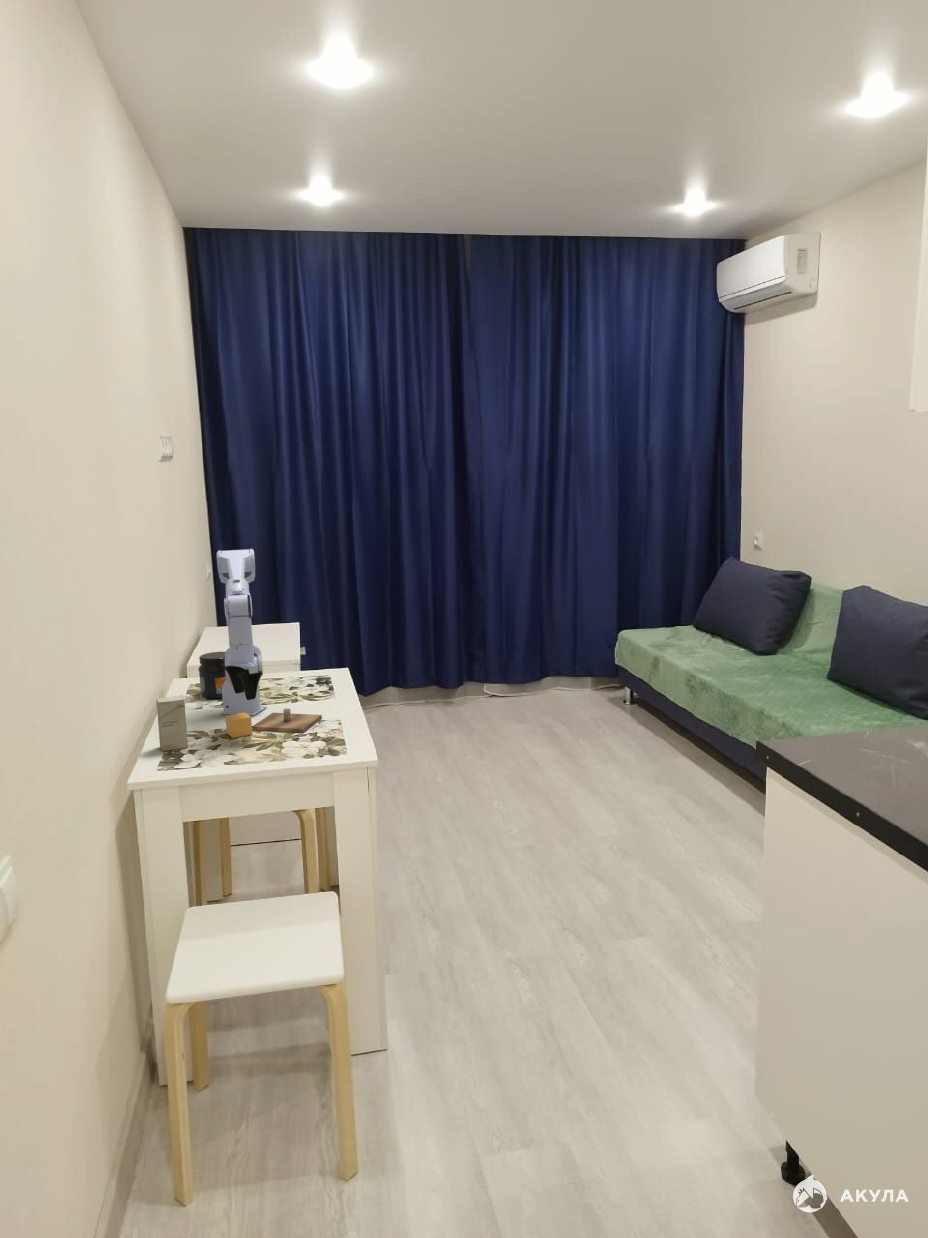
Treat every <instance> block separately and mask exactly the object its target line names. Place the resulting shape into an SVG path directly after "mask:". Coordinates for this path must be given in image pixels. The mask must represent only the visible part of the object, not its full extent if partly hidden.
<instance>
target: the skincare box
mask: <svg viewBox="0 0 928 1238" xmlns="http://www.w3.org/2000/svg"><path fill="white" fill-rule="evenodd" d="M155 700H156V711H157V724H158V725H157V726H158V736H159V737H158V739H159V740H158V741H159V747H160V750H161V751H162V752H166V751H174V750H180V749H182V750H183V749H187V748H188V747H189V744H188V733H187V719H186V718H187V717H186V706H185V705H186V702H185V697H184V696H183V694H181V695H174V696H165V697H158V698H156V699H155Z"/></svg>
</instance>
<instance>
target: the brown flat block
mask: <svg viewBox="0 0 928 1238" xmlns="http://www.w3.org/2000/svg"><path fill="white" fill-rule="evenodd" d="M322 719H323V715H322V714H311V713H310V714H307V713H306V714H305V713H291V708H283V711H282V712H271V713H269V714H268V715H267V716H266V717H264V718H262V719H261V720H260V721H258V722H257V723H255V724H253V725H252V731H257V732H258V731H260V732H262V731H263V732H275V733H276V732H280V733H299V734H304V733H305V732H307V731H308V730H309V729H310V728H312V727H313V726H315V725H316V724H317V723H318V722H320V721H321V720H322Z"/></svg>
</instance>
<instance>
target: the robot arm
mask: <svg viewBox="0 0 928 1238" xmlns="http://www.w3.org/2000/svg"><path fill="white" fill-rule="evenodd" d="M255 560H256V559H255V551H254V549H253V548H250V549H249V548H248V549H232V550H230V549H229V550H218V551H217V552H216V563H217V566H216V567H217V572H218V578H219V579H220V583H222V584H225V597H224V599H223V603H224V604H223V605H224V607H223V608H224V615H225V619H226V627H228V628H227V633H228V634H227V635H228V645H229V648H228V649H226V650H225V652H226V653H225V673H226V678H227V680H226V681H225V682H224V684H223V687H222V697H223V699H222V707H223V708H222V709H223V712H222V714H223V715H232V714H238V713H243V712H245V713H246V714H248V715H249V716H250V717H253V716H256V715H258V714H259V713H260V712H262V711H264V710H265V709H266V708H268V707H267V705H261V693H260V679H261V678H262V677H263V675H264V669H263V666H264V665H263V657H262V650H261V649H260V647H258V646H257V645H255V644H254V639H253V627H252V625H253V624H252V617H253V602H252V600H253V599H252V596H251V593H250V585H249V584H250V583H252V582H254V581H255V578H256V561H255Z"/></svg>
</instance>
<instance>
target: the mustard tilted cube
mask: <svg viewBox="0 0 928 1238" xmlns="http://www.w3.org/2000/svg"><path fill="white" fill-rule="evenodd" d="M224 716H225V727H226V734H227V735H229V736H230V737H231V739H235V738H241V737H245V736H250V735H253V730H252V726H253V725H252V716H250V715H248V714H246V713H245V712H243V713H238V714H232V715H230V714H226V715H224Z"/></svg>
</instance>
